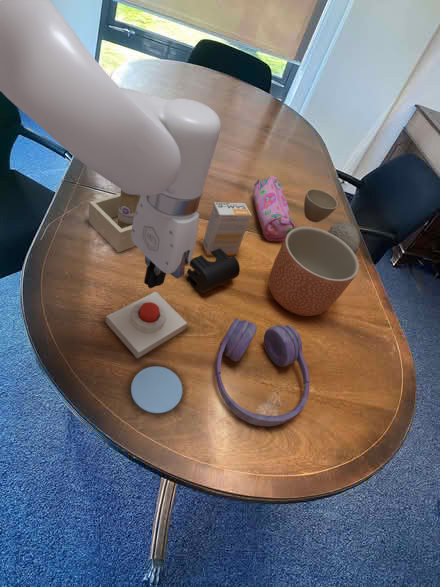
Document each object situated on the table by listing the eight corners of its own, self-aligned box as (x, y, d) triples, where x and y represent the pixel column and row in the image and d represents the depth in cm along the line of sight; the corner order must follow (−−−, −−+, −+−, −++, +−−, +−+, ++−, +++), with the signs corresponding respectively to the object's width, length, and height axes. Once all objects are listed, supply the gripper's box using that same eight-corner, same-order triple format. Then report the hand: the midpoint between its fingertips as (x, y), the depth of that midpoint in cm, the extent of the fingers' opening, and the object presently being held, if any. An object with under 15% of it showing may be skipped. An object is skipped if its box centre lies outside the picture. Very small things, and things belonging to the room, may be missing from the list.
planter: (333, 293, 99) (364, 249, 88) (318, 338, 87) (352, 293, 76) (273, 263, 101) (297, 216, 90) (251, 302, 89) (275, 254, 78)
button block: (137, 359, 71) (139, 346, 68) (105, 322, 74) (106, 309, 72) (185, 329, 78) (189, 317, 76) (154, 297, 82) (157, 285, 79)
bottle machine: (118, 252, 88) (124, 193, 77) (88, 222, 92) (90, 162, 81) (162, 235, 96) (173, 180, 85) (133, 208, 100) (140, 151, 89)
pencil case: (248, 196, 119) (258, 170, 113) (276, 202, 121) (287, 177, 115) (256, 241, 105) (268, 214, 98) (288, 247, 107) (301, 221, 101)
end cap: (203, 300, 85) (210, 279, 80) (183, 279, 88) (189, 257, 83) (234, 284, 91) (243, 264, 86) (215, 265, 94) (223, 244, 89)
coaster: (152, 424, 64) (153, 423, 63) (120, 384, 67) (120, 383, 67) (192, 394, 69) (192, 393, 69) (160, 359, 72) (160, 357, 72)
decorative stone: (315, 240, 113) (330, 212, 106) (340, 244, 115) (357, 217, 108) (324, 264, 106) (342, 237, 99) (351, 268, 108) (370, 241, 101)
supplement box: (230, 243, 101) (245, 202, 92) (236, 256, 98) (252, 214, 89) (200, 243, 98) (213, 201, 89) (206, 256, 95) (219, 214, 86)
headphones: (211, 327, 80) (210, 426, 69) (221, 307, 73) (222, 413, 62) (292, 338, 84) (304, 433, 73) (309, 319, 77) (325, 421, 66)
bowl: (319, 208, 126) (329, 190, 121) (331, 228, 120) (343, 209, 114) (292, 206, 122) (302, 187, 117) (304, 226, 116) (314, 207, 111)
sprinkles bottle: (115, 233, 92) (119, 185, 83) (118, 221, 95) (122, 173, 86) (134, 236, 93) (141, 189, 84) (136, 225, 96) (143, 178, 87)
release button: (147, 325, 72) (148, 319, 71) (135, 312, 73) (136, 307, 72) (162, 317, 74) (163, 311, 73) (150, 305, 76) (151, 299, 74)
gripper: (120, 171, 55) (110, 263, 67) (189, 233, 50) (164, 320, 62) (161, 162, 59) (144, 250, 72) (228, 218, 54) (197, 302, 67)
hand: (153, 282), depth 67 cm, fingers closed
